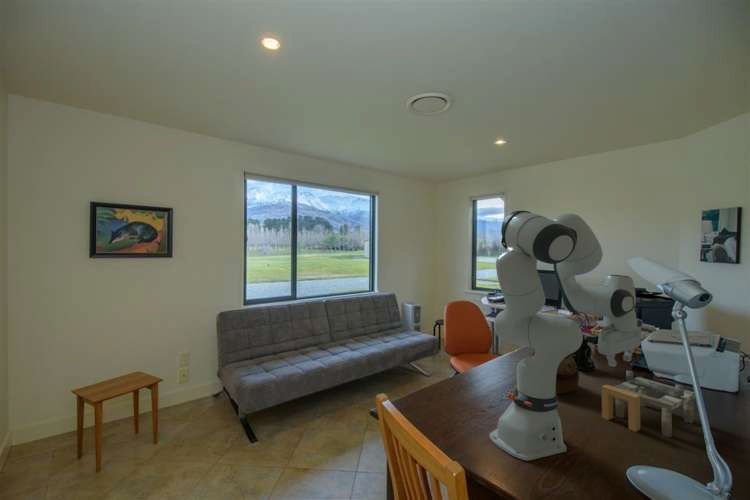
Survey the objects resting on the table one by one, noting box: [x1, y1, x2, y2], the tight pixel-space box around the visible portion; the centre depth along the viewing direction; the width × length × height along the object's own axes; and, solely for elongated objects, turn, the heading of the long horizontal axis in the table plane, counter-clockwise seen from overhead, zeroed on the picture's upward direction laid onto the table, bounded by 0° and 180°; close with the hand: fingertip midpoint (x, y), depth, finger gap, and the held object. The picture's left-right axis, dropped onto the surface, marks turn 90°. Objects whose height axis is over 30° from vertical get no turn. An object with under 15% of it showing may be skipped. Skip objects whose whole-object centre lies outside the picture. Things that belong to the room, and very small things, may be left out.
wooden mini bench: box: [601, 384, 641, 433], centre depth 109 cm, size 10×3×11 cm, turn 28°
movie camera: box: [571, 332, 599, 372], centre depth 166 cm, size 31×18×18 cm, turn 30°
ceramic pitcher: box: [529, 349, 580, 394], centre depth 138 cm, size 20×20×30 cm
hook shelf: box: [613, 370, 696, 438], centre depth 111 cm, size 18×16×14 cm
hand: (620, 363), depth 109 cm, fingers open, 8 cm apart
